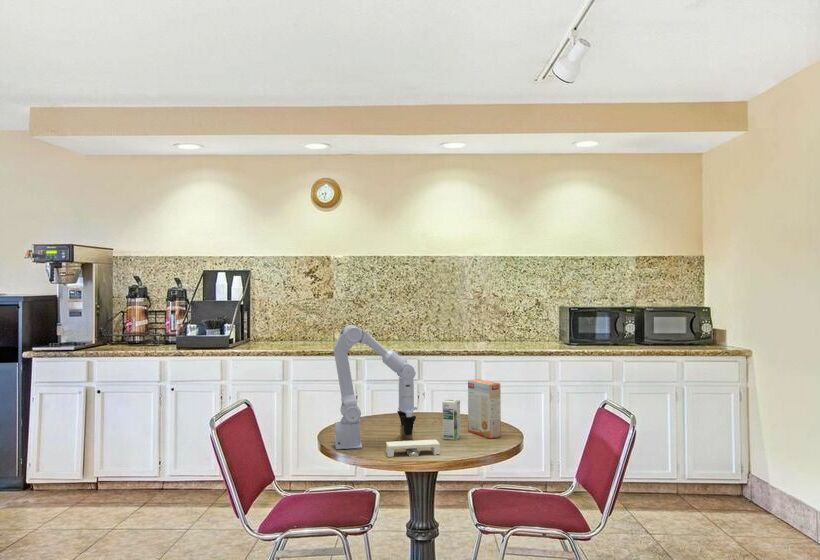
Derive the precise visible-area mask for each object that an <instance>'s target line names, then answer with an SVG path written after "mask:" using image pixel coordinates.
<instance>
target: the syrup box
mask: <svg viewBox="0 0 820 560" xmlns="http://www.w3.org/2000/svg"><path fill="white" fill-rule="evenodd" d="M441 407H442V409H441V410H442V440H452V441H457V440H458V439H459V438H460V437H461V400H460V399H450V398H449V399H448V398H446V399H444V400H442V405H441Z"/></svg>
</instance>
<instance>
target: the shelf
mask: <svg viewBox="0 0 820 560" xmlns="http://www.w3.org/2000/svg"><path fill="white" fill-rule="evenodd" d="M385 444H386V445H385V450H386V451H385V453H386V455H387V458H394V457H395V450H405V449H408V448H417V449H426V448H427V449H428V448H430V450H432V451H431V453H432V454H433V455H434V456H436V455H437V454H440V455H441V444H440V442H439V441H438V440H437V439H424V440H423V439H421V440H420V439H419V440H413V441H400V440H398V441H394V440H393V441H386V442H385ZM393 456H394V457H393ZM437 456H438V455H437Z"/></svg>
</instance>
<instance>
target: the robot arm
mask: <svg viewBox="0 0 820 560" xmlns="http://www.w3.org/2000/svg"><path fill="white" fill-rule="evenodd" d="M357 343H359V344H362V345H367V346H368V347H369V348H371V349H372V350H373V351H374V352H375V353H377V354H378V355H379V356H380V357H381V358H382V363H384V365H385V366H387V367H388V368H389V369H390V370H391V371H393V372H394V373H396V375H397V376H398V409H397V414H398V416H399V419H400V425H404V431H405V435H411V433H412V428H413V424H414V423H415V421H416V419H417V416H416V415H413V412H414V411H415V410H418V407H417V406H415V383H414V379H415V377H416V373H417V372H416V370H415V368H414V367H413V366H412V365H411V364H409V363H408V360H407V359H404V358H403V357H402V356H401V355H399V352H398V351H396V350H395V351H394V350H393V349H391V350H390V349H389V350H388V349H386V347H384V346H383V345H382V344H381V343H380V342H379V341H378V340H376V339H375V338H374V337H373V336H372V335H371V334H369V333H368V332H367V331H365V330H363V329H362V328H360V327H359V326H357V325H355V324H347V325H345V326H344V327H343V328H342V329H341V330H340V331H339V334H338V336H337V339H336V341H335V344H334V346H333V353H334V361H335V366H336V371H337V372H336V373H337V377H338V384H339V390H340V395H341V398H340V399H341V406H340V414H341V415H342V418H341V419H340V421H337V422H336V421H335V422H334V423H335V425H334V429H335V430H334V433H335V434H334V441H333V443H334V445H335V450H344V449H345V450H347V449H349V450H350V449H363V444H362V441H361V419H360V418H361V416H362V412H361V409H360V408H359V407H358V403H357V399H356V396H355V390H354V385H353V379H352V372H351V367H350V362H349V361H350V360H349V356H348V352H349V351H350V350H351V349H352V348H353V346H355V345H356V344H357Z"/></svg>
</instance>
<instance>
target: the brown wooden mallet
mask: <svg viewBox="0 0 820 560" xmlns="http://www.w3.org/2000/svg"><path fill="white" fill-rule="evenodd" d="M399 426H400V428H399V431H400V433H399V434H400V435H399V437H400V438H399V441H414V440H413V439H414V438H413V437H414V430H413V428H412V433H411V435H405V431H404V425H401V424H400V425H399ZM408 450H418V448H408V449H406V450H405V451H406V452H407V451H408Z"/></svg>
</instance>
